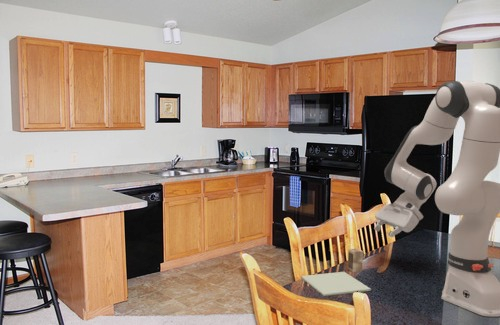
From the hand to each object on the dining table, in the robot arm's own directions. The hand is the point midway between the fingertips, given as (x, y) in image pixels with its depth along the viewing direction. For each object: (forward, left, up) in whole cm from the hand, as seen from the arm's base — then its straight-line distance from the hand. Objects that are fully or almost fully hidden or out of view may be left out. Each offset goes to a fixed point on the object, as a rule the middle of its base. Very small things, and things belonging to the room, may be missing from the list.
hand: (382, 233), depth 173 cm
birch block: (0, +12, -14) cm, 19 cm away
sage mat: (-11, +27, -14) cm, 32 cm away
